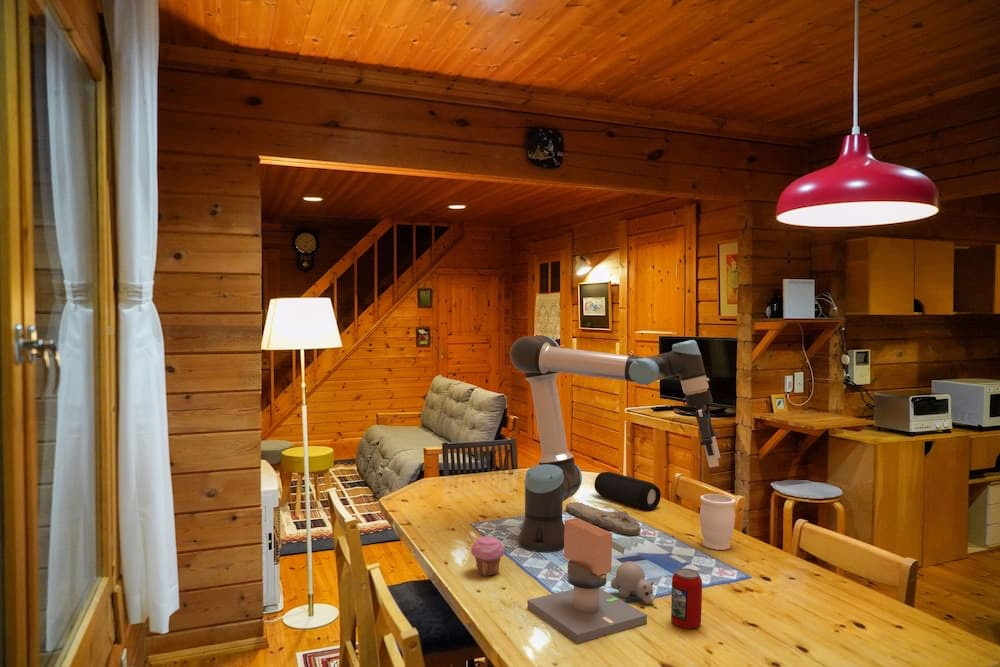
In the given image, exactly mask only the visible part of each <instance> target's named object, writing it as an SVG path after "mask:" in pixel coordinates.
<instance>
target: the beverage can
mask: <svg viewBox="0 0 1000 667" xmlns="http://www.w3.org/2000/svg"><path fill="white" fill-rule="evenodd" d="M702 601H703V580H702V578H701V576H700V573H699V571H697V570H695V569H693V568H686V567H685V568H684V567H682V568H677V569H676V570H675V573H674V574H673V575H672V577H671V602H670V603H671V605H670V608H671V610H670V611H671V612H670V619H671V621H672V622H673V623H674V624H675V625H676V626H678V627H680V628H683V629H695V628H697V627H698V626H700V625H701V623H702V605H703V602H702Z"/></svg>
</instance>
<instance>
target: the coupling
mask: <svg viewBox="0 0 1000 667" xmlns="http://www.w3.org/2000/svg"><path fill="white" fill-rule="evenodd" d="M563 558H564V559H567V560H568V561H567V582H568V584H569V585H570V586H571V585H572V586H573V587H574V586H575V587H579V588H584V589H595V588H603V587H604V586H606V582H607V574H609V573H612V558H613V532H610V531H608V530H607V529H605V528H602V527H600V526H598V525H596V524H592V523H589V522H588V521H585V520H583V519H582V518H579V517H575V518H570V519H565V520H564V549H563Z"/></svg>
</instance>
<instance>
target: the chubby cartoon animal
mask: <svg viewBox="0 0 1000 667" xmlns="http://www.w3.org/2000/svg"><path fill="white" fill-rule="evenodd" d="M645 575H646V574H645V571H644V569H643V567H642V566H641V565H640V564H639V563H637V562H635V561H631V560H630V561H629V560H627V561H624V562H622V563H621V564H620V565H619V566H618V567H617V569H616V572H615V576H614V577H613V578H612V579H611V581H610V586H611V588H612V589H614V590H619V595H620V597H621V598H623V599H628V598H629V597H630V595H633V596H636V595H637V596H638V597H639V598H641V599H642V601H643V602H644V603H645V604H646V605H651V604H653V603H654V601H655V600H656V595H655V594H654V593H653V592H654V591H653V590H654V589H653V586H654V583H655V582H654V581H647V580H645V579H646V576H645Z"/></svg>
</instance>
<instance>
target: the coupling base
mask: <svg viewBox="0 0 1000 667" xmlns="http://www.w3.org/2000/svg"><path fill="white" fill-rule="evenodd" d="M527 609H528V610H530V611H531V612H532V613H533V614H535V615H536V616H538V617H539V618H541V619H542V620H543V621H545V622H546V623H547V624H549V625H550V626H552V627H553V628H555V629H556V630H557V631H558V632H560V633H562V634H563V635H564V636H566V637H568V639H571V641H573V642H574V643H576V644H582V643H585V642H589V641H592V640H595V639H599V638H601V637H605V636H609V635H612V634H616V633H619V632H622V631H626V630H629V629H633V628H635V627H639V626H643V625H646V624H648V615H647V614H646V613H645V612H643V611H641V610H639V609H637V608H635V607H634V606H632V605H630V604H629V603H627V602H625V601H623V600H622V599H620V598H618V597H617V596H615V595H612V594H611V593H609V592H608V591H606V590H604V589H602V587H600V588H595V589H584V588H579V587H575V586H573V588H572V589H568V590H563V591H560V592H559V591H558V592H555V593H551V594H546V595H542V596H538V597H533V598H530V599H527Z"/></svg>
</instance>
